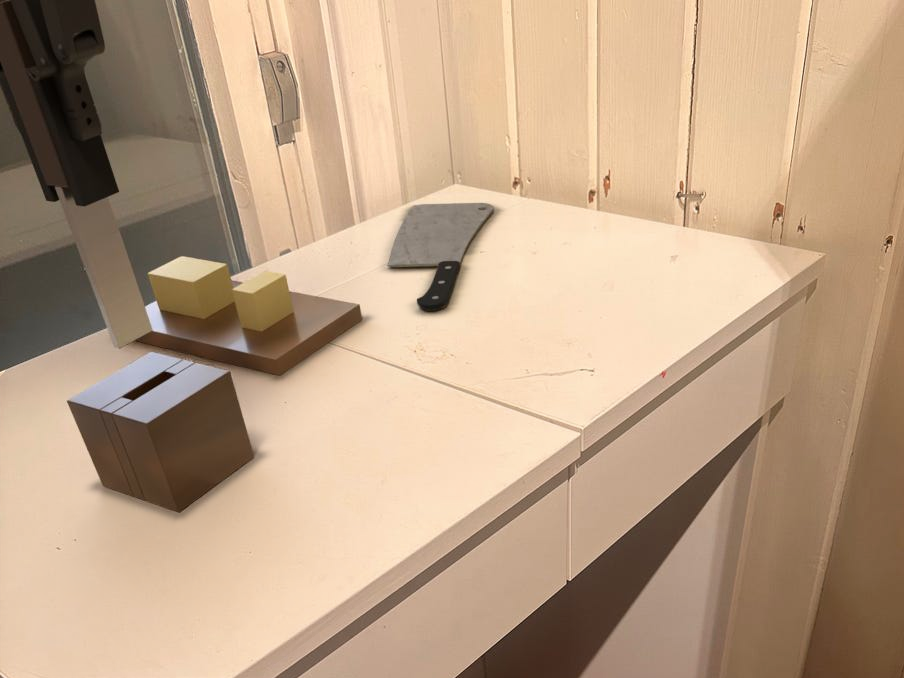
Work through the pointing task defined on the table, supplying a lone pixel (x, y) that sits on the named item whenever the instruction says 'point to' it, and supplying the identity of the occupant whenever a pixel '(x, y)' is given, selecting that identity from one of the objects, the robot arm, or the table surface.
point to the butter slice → (263, 300)
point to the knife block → (163, 429)
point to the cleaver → (437, 243)
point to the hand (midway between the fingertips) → (82, 195)
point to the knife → (88, 223)
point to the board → (254, 333)
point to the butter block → (192, 287)
